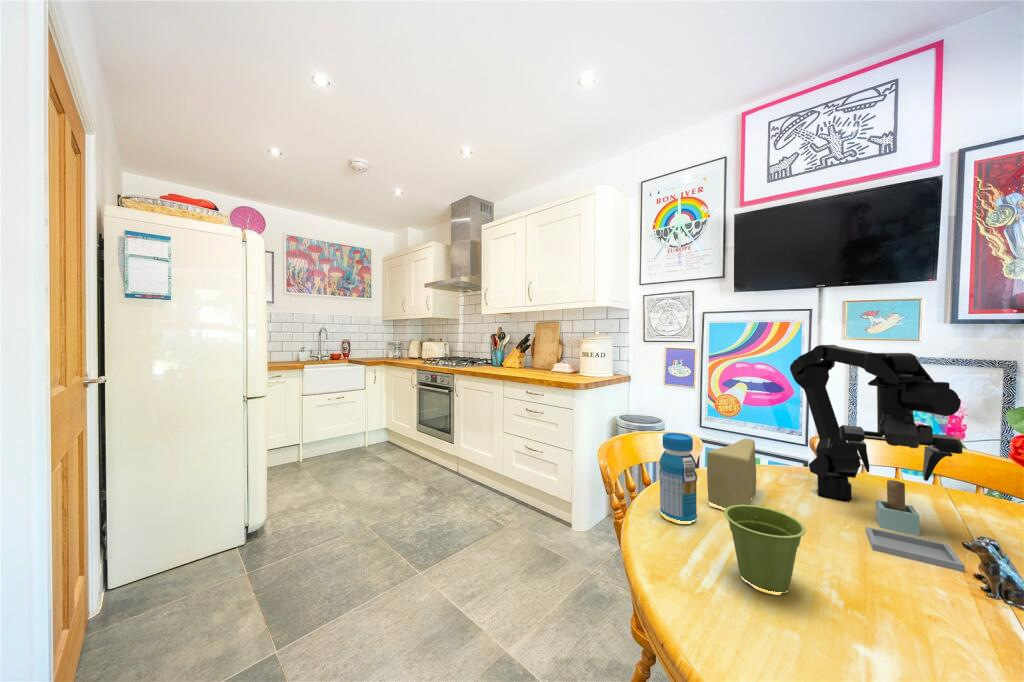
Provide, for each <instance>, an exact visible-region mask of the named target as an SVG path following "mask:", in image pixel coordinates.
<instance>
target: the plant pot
mask: <svg viewBox="0 0 1024 682" xmlns="http://www.w3.org/2000/svg"><path fill="white" fill-rule="evenodd" d="M723 513H724V514H723V515H724V516H725V519H727V521H728V525H729V530H730V532H731V534H732V535H731V536H732V540H733V545H734V550H735V555H736V560H737V561H736V562H737V565H738V572H739V575H740V574H741V576H742V577H743V578H744V579H745V580H747V581H748V582H750V583H751V584H753V585H755V586H757V587H759V588H762V589H765V590H768V591H773V592H774V591H775V592H786V591H788V590H789V591H790V589H789V588H791V583H792V577H793V571H794V566H795V562H796V555H797V551H798V547H799V546H800V543H801V538H802V537H803V536H804V535H805V534H806V532H807V529H806V527H805V524H803V523H802V522H801V521H799V520H798V519H796V518H795V517H794V516H791V515H789V514H787V513H786V512H785V513H784V512H783V511H778V510H777V509H772V508H768V507H765V506H760V505H753V504H751V505H734V506H730V507H728V508H726V509H725V511H723ZM741 576H740V577H741ZM789 591H788V592H789Z"/></svg>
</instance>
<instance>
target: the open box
mask: <svg viewBox="0 0 1024 682" xmlns="http://www.w3.org/2000/svg"><path fill="white" fill-rule="evenodd" d="M875 520H876V522H877V524H878V525H879V529H882V530H887V531H891V532H896V533H897V532H898V533H901V534H905V535H910V536H915V537H916V536H917V537H920V536H921V534H920V533H921V531H920V530H921V528H920V515H919V513H918V512H917V511H916V509H915V508H914V507H913V505H908V504H905V512H903V511H898V510H893V509H888V508H887V500H886V501H885V500H882V499H881V500H880V499H877V498H876V499H875Z"/></svg>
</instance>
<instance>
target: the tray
mask: <svg viewBox="0 0 1024 682" xmlns="http://www.w3.org/2000/svg"><path fill="white" fill-rule="evenodd" d="M865 535H866V537H867V539H868V542H869V544H870V546H871V549H872V551H875V552H880V553H883V554H887V555H890V556H894V557H900V558H904V559H908V560H913V561H917V562H920V563H923V564H929V565H933V566H936V567H941V568H945V569H948V570H953V571H957V572H960V573H966V566H965V564H964V562H962V560H961V559H960V557H958V555H957V554H956V553H955V551H954V549H952V547H951V546H950V545H949V544H948V543H944V542H940V541H935V540H930V539H926V538H921V537H918V536H917V537H916V536H913V535H909V534H904V533H900V532H898V533H897V532H895V531H890V530H886V529H881V528H874V527H870V526H865Z"/></svg>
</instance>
